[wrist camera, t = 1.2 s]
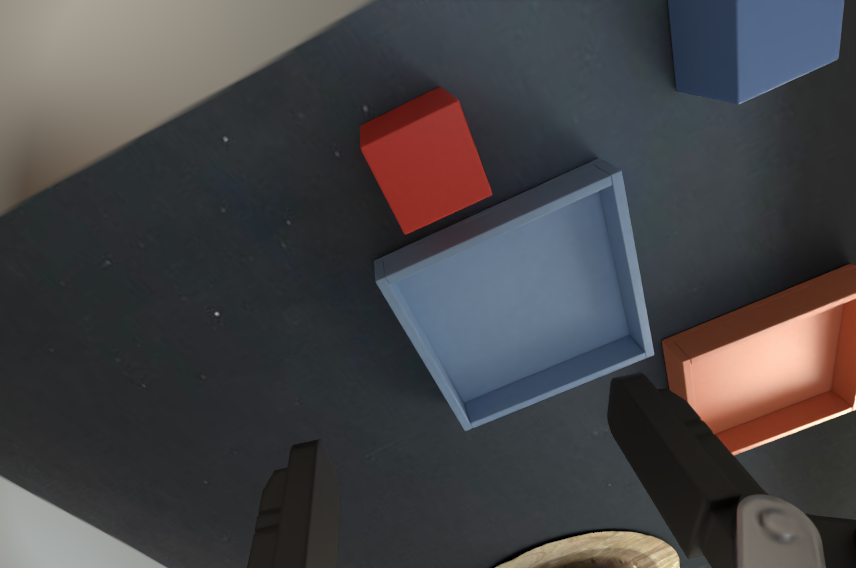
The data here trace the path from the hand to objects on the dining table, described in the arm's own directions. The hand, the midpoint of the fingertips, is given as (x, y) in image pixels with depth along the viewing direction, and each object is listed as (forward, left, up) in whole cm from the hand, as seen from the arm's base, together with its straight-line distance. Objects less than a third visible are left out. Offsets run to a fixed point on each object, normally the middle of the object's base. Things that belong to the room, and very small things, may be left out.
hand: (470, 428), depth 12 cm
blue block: (-18, -2, -15) cm, 24 cm away
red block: (-2, -3, -15) cm, 16 cm away
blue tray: (-4, +9, -15) cm, 18 cm away
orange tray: (-20, +25, -15) cm, 35 cm away
